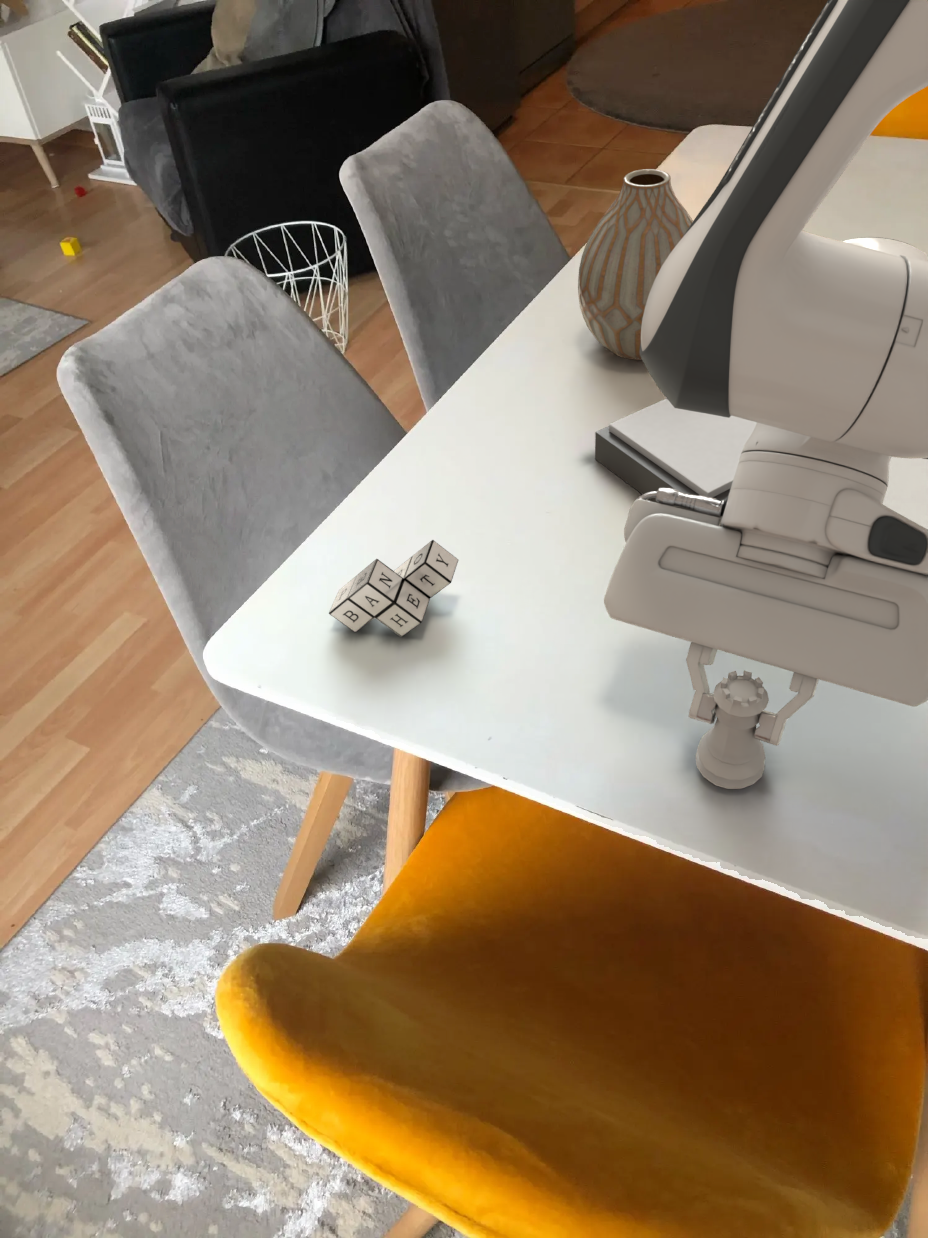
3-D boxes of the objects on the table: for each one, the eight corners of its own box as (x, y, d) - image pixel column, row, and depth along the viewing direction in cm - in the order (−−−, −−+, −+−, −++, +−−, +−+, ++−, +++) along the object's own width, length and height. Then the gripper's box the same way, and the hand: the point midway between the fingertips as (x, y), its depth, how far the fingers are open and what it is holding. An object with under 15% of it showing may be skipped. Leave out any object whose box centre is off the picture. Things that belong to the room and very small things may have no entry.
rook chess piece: (745, 804, 61) (761, 725, 56) (682, 773, 63) (691, 694, 58) (775, 757, 64) (793, 677, 58) (713, 728, 66) (725, 648, 60)
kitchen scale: (835, 483, 84) (843, 447, 81) (713, 547, 79) (718, 511, 77) (709, 405, 94) (712, 371, 91) (594, 458, 89) (595, 424, 87)
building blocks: (381, 651, 77) (443, 606, 72) (328, 613, 75) (387, 565, 70) (398, 605, 80) (458, 559, 75) (348, 568, 78) (406, 518, 73)
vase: (699, 378, 98) (716, 204, 85) (571, 374, 100) (569, 205, 88) (703, 315, 106) (719, 150, 94) (585, 313, 109) (585, 152, 97)
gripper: (626, 471, 60) (566, 682, 61) (981, 552, 52) (904, 792, 53) (648, 488, 66) (592, 680, 67) (970, 563, 58) (902, 780, 59)
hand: (733, 731), depth 60 cm, fingers closed on rook chess piece, 3 cm apart
